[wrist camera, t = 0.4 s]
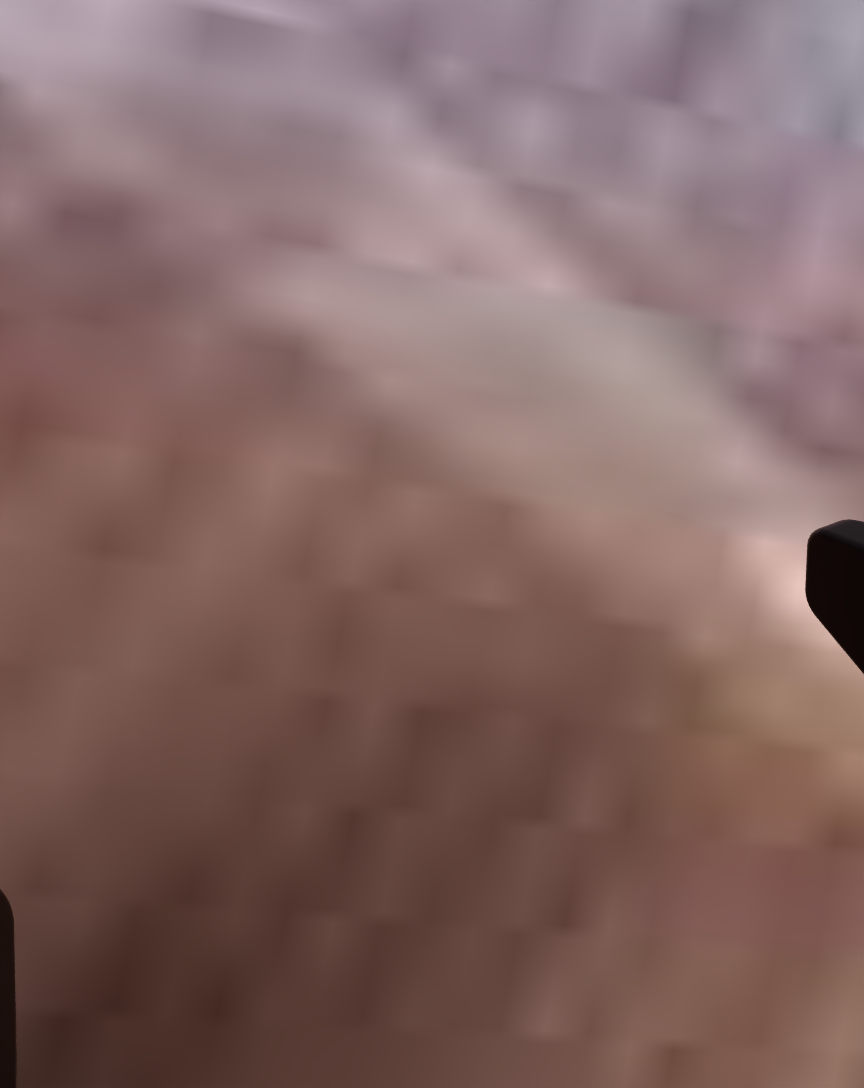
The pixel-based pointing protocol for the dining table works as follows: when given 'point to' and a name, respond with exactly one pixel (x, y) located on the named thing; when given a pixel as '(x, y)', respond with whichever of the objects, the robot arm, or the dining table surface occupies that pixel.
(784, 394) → the dining table surface
